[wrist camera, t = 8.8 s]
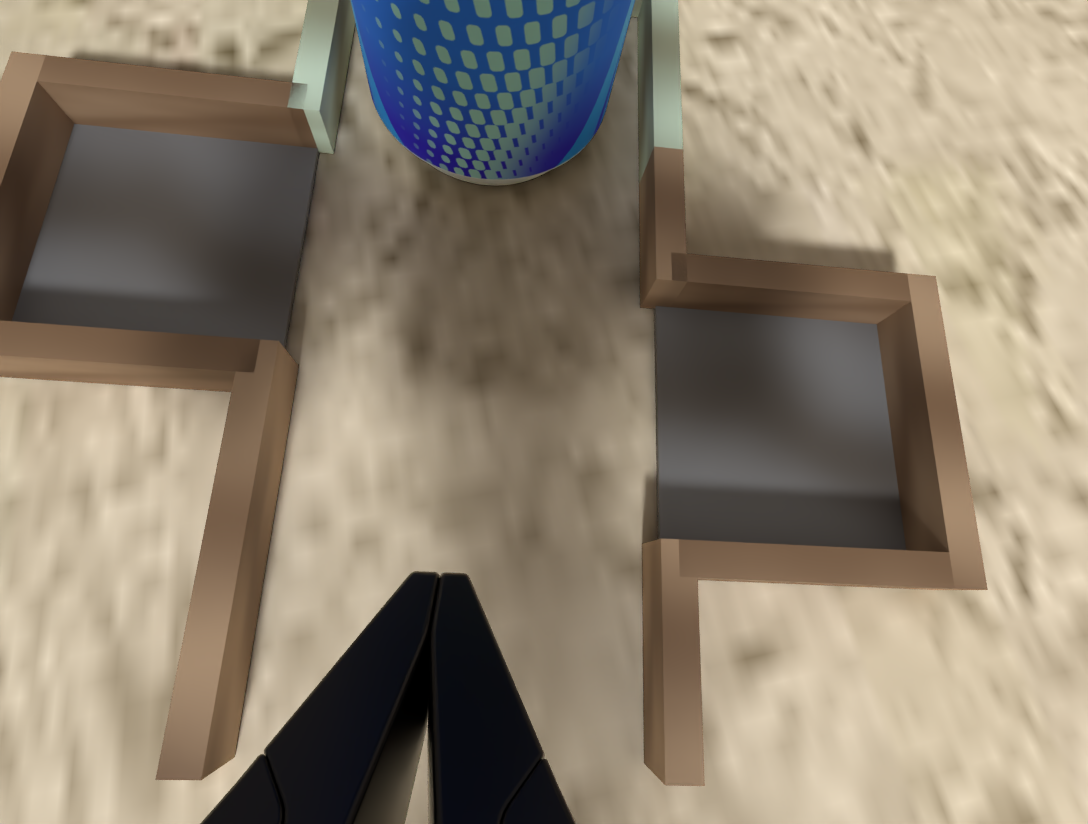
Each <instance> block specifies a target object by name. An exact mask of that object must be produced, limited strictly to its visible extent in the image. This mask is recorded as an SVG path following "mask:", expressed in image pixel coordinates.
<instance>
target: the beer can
mask: <svg viewBox="0 0 1088 824" xmlns="http://www.w3.org/2000/svg"><path fill="white" fill-rule="evenodd" d="M634 3H635V0H351V5H352V9H353V14H354V19H355V23H356V28H357V32H358V37H359V42H360V46H361V51H362V55H363V60H364V64H365V69H366V74H367V78H368V83H369V87H370V92H371V96H372V100H373V102H374V105H375V108H376V110H377V112H378V114H379V116H380V118H381V120H382V121H383V123H384V124H385V126H386V127H387V129H388V130H389V131H390V133H391V134H392V135H393V136H394V138H395V139H396V140H397V141H398V142H399V143H400V144H401V145H402V146H404V147H405V148H406V149H407V150H409V151H410V152H411V153H412V154H414V155H415V156H417V157H418V158H420V159H421V160H423V161H425V162H427V163H428V164H430V165H431V166H433V167H434V168H436V169H437V170H439V171H441V172H443V173H444V174H447V175H449V176H451V177H453V178H456V179H459V180H462V181H466V182H470V183H474V184H480V185H510V184H516V183H521V182H525V181H528V180H531V179H534V178H536V177H538V176H541V175H543V174H545V173H546V172H548V171H550V170H553V169H555V168H557V167H559V166H561V165H562V164H564V163H566V162H567V161H569V160H570V159H572V158H573V157H574V156H576V155H577V154H578V153H579V152H580V151H581V150H582V149H584V148H585V146H586V145H587V144H588V143H589V142H590V141H591V139H592V138H593V136H594V135H595V134H596V132H597V130H598V128H599V126H600V125H601V123H602V120H603V118H604V115H605V112H606V108H607V105H608V101H609V97H610V93H611V90H612V86H613V82H614V78H615V74H616V71H617V67H618V63H619V59H620V56H621V52H622V48H623V44H624V41H625V37H626V33H627V29H628V25H629V22H630V18H631V14H632V10H633V7H634Z"/></svg>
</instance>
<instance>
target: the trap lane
mask: <svg viewBox="0 0 1088 824" xmlns="http://www.w3.org/2000/svg"><path fill="white" fill-rule="evenodd" d="M631 17H638V112H639V225H640V307H641V308H653V309H654V316H655V377H656V439H657V501H658V540H654V541H650V542H647V543H643V544H642V566H643V679H644V763H645V764H646V766H647V767H648V768H649V769H650V770H651V771H652V772H653V773H654V774H655V775H656V776H657V777H658V778H659V779H660V780H661V781H662V782H663V783H664V784H665V785H678V786H705V783H704V753H703V724H702V694H701V665H700V635H699V606H698V580H715V581H738V582H762V583H786V584H810V585H834V586H857V587H881V588H905V589H929V590H987V584H986V578H985V572H984V566H983V560H982V553H981V547H980V541H979V535H978V529H977V523H976V517H975V511H974V505H973V499H972V493H971V487H970V481H969V475H968V469H967V463H966V457H965V451H964V445H963V439H962V433H961V427H960V421H959V415H958V409H957V403H956V396H955V390H954V384H953V378H952V372H951V366H950V360H949V354H948V348H947V342H946V336H945V330H944V324H943V318H942V312H941V306H940V300H939V294H938V288H937V282H936V276H927V275H916V274H905V273H894V272H883V271H872V270H861V269H850V268H839V267H828V266H817V265H806V264H795V263H784V262H773V261H762V260H751V259H740V258H729V257H718V256H707V255H696V254H687V252H686V223H685V193H684V164H683V134H682V105H681V75H680V46H679V16H678V0H635V3H634V7H633V10H632V14H631ZM354 27H355V19H354V14H353V9H352V5H351V0H308V4H307V9H306V14H305V19H304V24H303V30H302V35H301V40H300V45H299V50H298V55H297V60H296V65H295V70H294V75H293V81H292V82H284V81H275V80H266V79H257V78H248V77H239V76H229V75H220V74H211V73H202V72H193V71H184V70H175V69H166V68H157V67H147V66H138V65H129V64H120V63H111V62H102V61H93V60H84V59H75V58H66V57H56V56H47V55H38V54H29V53H20V52H11V55H10V57H9V60H8V63H7V65H6V68H5V71H4V74H3V76H2V79H1V82H0V377H12V378H27V379H42V380H58V381H73V382H88V383H104V384H119V385H134V386H149V387H165V388H180V389H195V390H210V391H226V392H231V397H230V402H229V408H228V413H227V418H226V423H225V428H224V433H223V438H222V443H221V448H220V454H219V459H218V464H217V469H216V474H215V479H214V484H213V489H212V494H211V499H210V505H209V510H208V515H207V520H206V525H205V530H204V535H203V540H202V545H201V551H200V556H199V561H198V566H197V571H196V576H195V581H194V586H193V591H192V597H191V602H190V607H189V612H188V617H187V622H186V627H185V632H184V637H183V643H182V648H181V653H180V658H179V663H178V668H177V673H176V678H175V683H174V688H173V694H172V699H171V704H170V709H169V714H168V719H167V724H166V729H165V734H164V740H163V745H162V750H161V755H160V760H159V765H158V770H157V775H156V780H202V779H204V778H205V777H206V776H208V775H209V774H211V773H212V772H214V771H215V770H217V769H218V768H220V767H221V766H222V765H224V764H225V763H227V762H228V761H230V760H231V759H233V758H234V757H235V751H236V745H237V739H238V733H239V727H240V721H241V715H242V709H243V702H244V696H245V690H246V684H247V678H248V672H249V666H250V660H251V654H252V648H253V642H254V636H255V629H256V623H257V617H258V611H259V605H260V599H261V593H262V587H263V581H264V575H265V569H266V563H267V556H268V550H269V544H270V538H271V532H272V526H273V520H274V514H275V508H276V502H277V496H278V489H279V483H280V477H281V471H282V465H283V459H284V453H285V447H286V441H287V435H288V429H289V423H290V416H291V410H292V404H293V398H294V392H295V386H296V380H297V374H298V368H299V365H298V364H297V363H296V362H295V360H294V359H293V358H292V357H291V356H290V354H289V353H288V352H287V351H286V349H285V347H286V341H287V335H288V330H289V324H290V318H291V312H292V306H293V301H294V295H295V289H296V283H297V277H298V272H299V266H300V260H301V254H302V248H303V243H304V237H305V231H306V225H307V220H308V214H309V208H310V202H311V196H312V191H313V185H314V179H315V173H316V167H317V162H318V156H319V152H321V153H331V154H334V149H335V143H336V136H337V130H338V124H339V118H340V112H341V106H342V100H343V94H344V88H345V82H346V76H347V69H348V63H349V57H350V51H351V45H352V39H353V33H354Z"/></svg>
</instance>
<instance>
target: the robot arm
mask: <svg viewBox="0 0 1088 824" xmlns="http://www.w3.org/2000/svg"><path fill="white" fill-rule="evenodd" d="M427 720H428V824H576V823H575V821H574V819H573V817H572V815H571V812H570V810H569V808H568V806H567V804H566V802H565V799H564V797H563V795H562V793H561V791H560V789H559V787H558V784H557V782H556V780H555V777H554V775H553V772H552V770H551V768H550V765H549V763H548V761H547V760H546V759H544V752H543V750H542V747H541V745H540V743H539V740H538V738H537V736H536V733H535V731H534V728H533V726H532V724H531V721H530V719H529V717H528V714H527V712H526V710H525V707H524V705H523V703H522V700H521V698H520V695H519V693H518V691H517V688H516V686H515V684H514V681H513V679H512V677H511V674H510V672H509V670H508V667H507V665H506V662H505V660H504V658H503V655H502V653H501V651H500V648H499V646H498V644H497V641H496V639H495V637H494V634H493V632H492V629H491V627H490V625H489V622H488V620H487V618H486V615H485V613H484V611H483V608H482V606H481V603H480V601H479V599H478V596H477V594H476V592H475V589H474V587H473V585H472V582H471V580H470V578H469V576H468V575H467V574H464V573H443V574H441V576H439V574H438V573H436V572H419V571H415V572H412V573H411V574H410V575H409V576H408V577H407V578H406V580H405V581H404V582H403V583H402V584H401V586H400V587H399V588H398V589H397V590H396V592H395V593H394V594H393V595H392V596H391V598H390V599H389V600H388V601H387V602H386V604H385V605H384V606H383V607H382V608H381V610H380V611H379V612H378V613H377V614H376V616H375V617H374V618H373V619H372V620H371V622H370V623H369V624H368V625H367V627H366V628H365V629H364V630H363V631H362V633H361V634H360V635H359V636H358V637H357V639H356V640H355V641H354V642H353V643H352V645H351V646H350V647H349V648H348V649H347V651H346V652H345V653H344V654H343V655H342V657H341V658H340V659H339V660H338V661H337V663H336V664H335V665H334V666H333V667H332V669H331V670H330V671H329V672H328V673H327V675H326V676H325V677H324V678H323V679H322V681H321V682H320V683H319V684H318V685H317V687H316V688H315V689H314V690H313V691H312V693H311V694H310V695H309V696H308V698H307V699H306V700H305V701H304V702H303V704H302V705H301V706H300V707H299V708H298V710H297V711H296V712H295V713H294V714H293V716H292V717H291V718H290V719H289V720H288V722H287V723H286V724H285V725H284V726H283V728H282V729H281V730H280V731H279V732H278V734H277V735H276V736H275V737H274V738H273V740H272V741H271V742H270V743H269V744H268V746H267V747H266V748H265V750H264V754H261V755H259V756H258V757H257V758H256V760H255V761H254V762H253V763H252V764H251V766H250V767H249V768H248V769H247V771H246V772H245V773H244V774H243V775H242V777H241V778H240V779H239V780H238V781H237V783H236V784H235V785H234V786H233V787H232V788H231V789H230V791H229V792H228V793H227V794H226V795H225V796H224V797H223V799H222V800H221V801H220V802H219V803H218V804H217V805H216V807H215V808H214V809H213V810H212V811H211V812H210V813H209V815H208V816H207V817H206V818H205V819H204V820H203V821H202V822H201V824H405V820H406V815H407V811H408V807H409V802H410V798H411V794H412V789H413V785H414V781H415V776H416V772H417V768H418V763H419V759H420V755H421V750H422V746H423V741H424V737H425V732H426V727H427Z"/></svg>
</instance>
